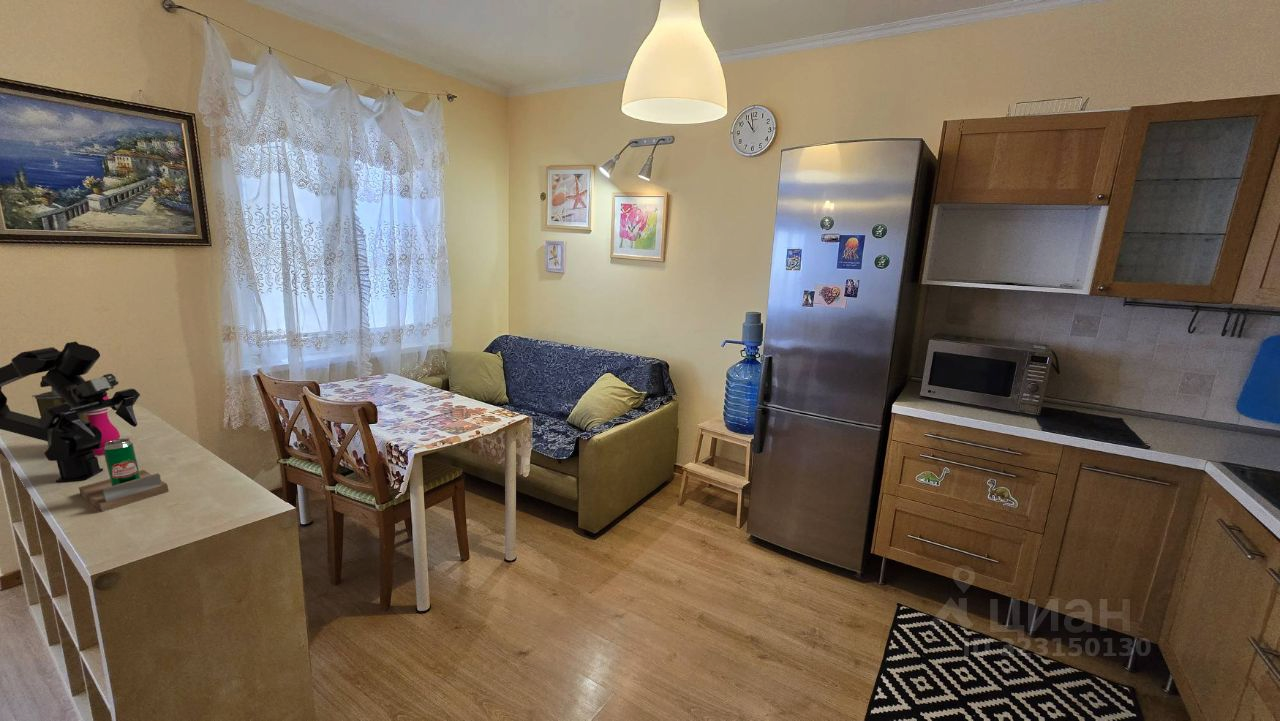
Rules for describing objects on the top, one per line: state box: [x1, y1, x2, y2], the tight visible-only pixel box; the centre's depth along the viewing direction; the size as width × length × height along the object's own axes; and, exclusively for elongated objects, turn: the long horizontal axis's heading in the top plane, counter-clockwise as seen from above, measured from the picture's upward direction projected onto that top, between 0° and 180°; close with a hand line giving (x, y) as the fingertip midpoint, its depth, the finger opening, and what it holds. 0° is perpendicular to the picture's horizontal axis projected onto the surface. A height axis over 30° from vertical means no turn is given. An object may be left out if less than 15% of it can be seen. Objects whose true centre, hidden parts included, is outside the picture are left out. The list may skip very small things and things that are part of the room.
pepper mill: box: [84, 394, 121, 456], centre depth 152 cm, size 7×7×20 cm
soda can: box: [103, 438, 140, 486], centre depth 125 cm, size 5×5×12 cm
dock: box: [78, 469, 170, 512], centre depth 128 cm, size 16×12×5 cm
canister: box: [31, 387, 88, 448], centre depth 155 cm, size 11×10×20 cm
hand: (115, 431), depth 132 cm, fingers open, 9 cm apart
